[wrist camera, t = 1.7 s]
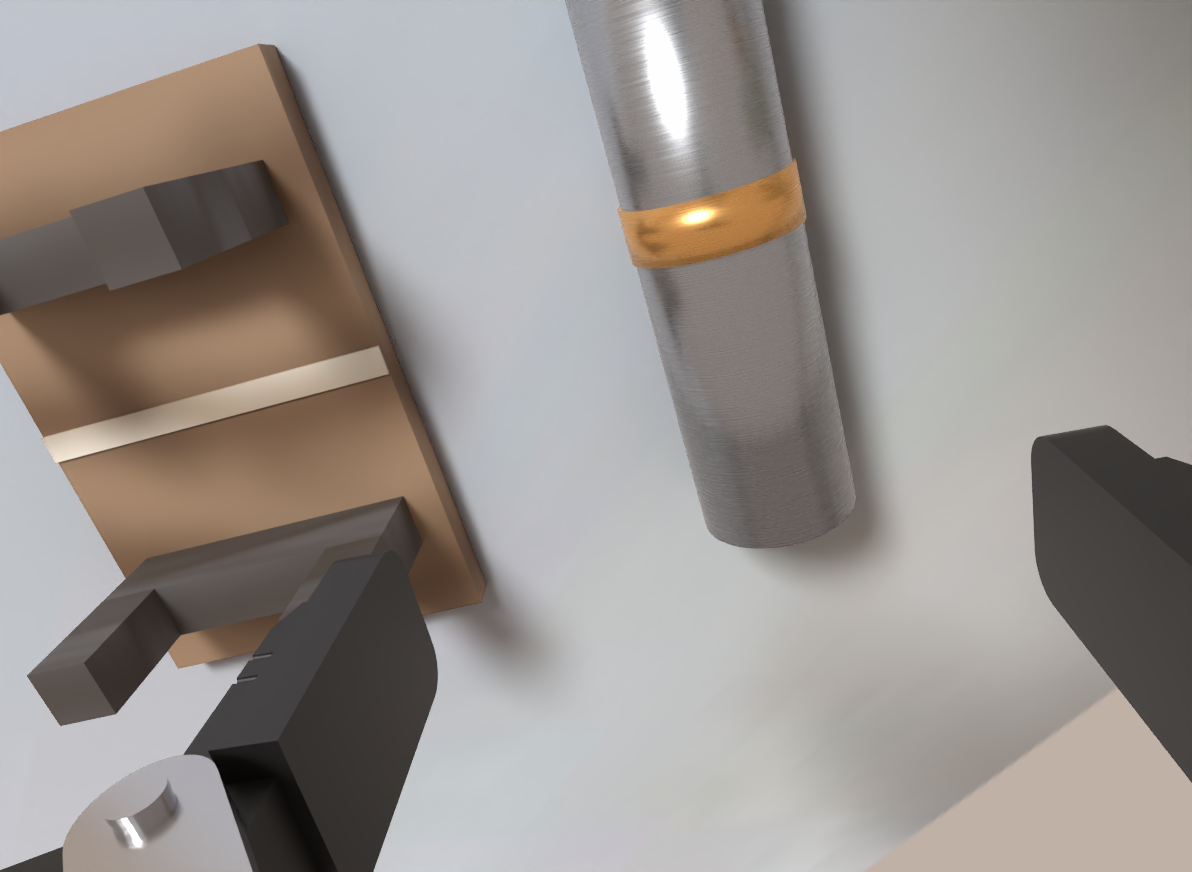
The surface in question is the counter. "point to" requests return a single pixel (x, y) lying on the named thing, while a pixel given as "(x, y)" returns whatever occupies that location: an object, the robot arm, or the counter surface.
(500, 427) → the counter surface
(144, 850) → the robot arm
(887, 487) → the counter surface
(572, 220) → the counter surface
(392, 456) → the cradle stand
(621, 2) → the tube
